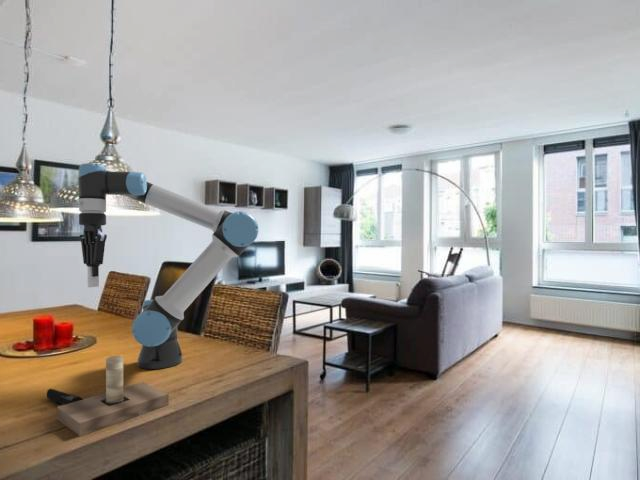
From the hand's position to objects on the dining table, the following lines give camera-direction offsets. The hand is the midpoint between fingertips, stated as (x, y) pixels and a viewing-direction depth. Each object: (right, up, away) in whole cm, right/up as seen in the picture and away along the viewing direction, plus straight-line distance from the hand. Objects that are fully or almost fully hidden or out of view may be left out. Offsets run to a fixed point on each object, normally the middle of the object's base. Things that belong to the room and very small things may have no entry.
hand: (93, 286), depth 127 cm
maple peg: (+19, -30, -23) cm, 42 cm away
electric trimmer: (+3, -30, -18) cm, 36 cm away
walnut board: (+19, -30, -23) cm, 42 cm away
